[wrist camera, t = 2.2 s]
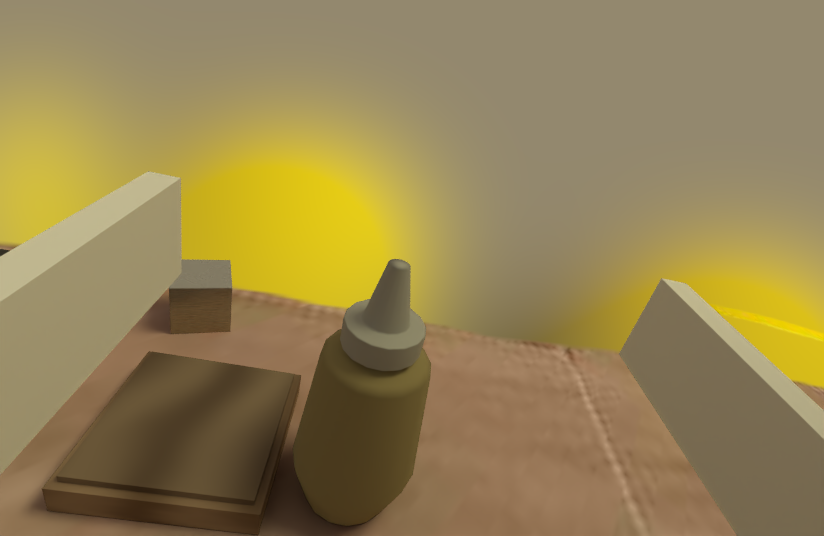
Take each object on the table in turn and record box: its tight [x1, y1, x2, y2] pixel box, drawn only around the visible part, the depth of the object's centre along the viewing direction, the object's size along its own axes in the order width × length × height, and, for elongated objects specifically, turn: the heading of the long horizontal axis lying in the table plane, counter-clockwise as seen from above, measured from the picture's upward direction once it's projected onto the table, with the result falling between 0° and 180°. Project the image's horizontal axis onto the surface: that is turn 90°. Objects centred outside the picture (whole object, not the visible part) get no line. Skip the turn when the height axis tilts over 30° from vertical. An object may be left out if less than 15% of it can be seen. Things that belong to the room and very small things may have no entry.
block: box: [169, 260, 232, 334], centre depth 43 cm, size 5×5×5 cm
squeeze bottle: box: [293, 259, 431, 526], centre depth 28 cm, size 8×8×18 cm
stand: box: [42, 352, 301, 535], centre depth 32 cm, size 12×12×2 cm
